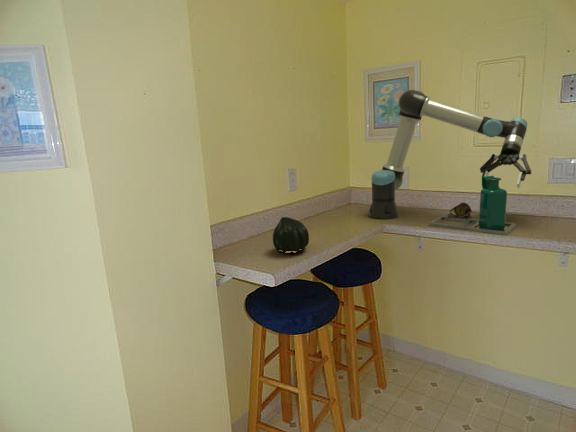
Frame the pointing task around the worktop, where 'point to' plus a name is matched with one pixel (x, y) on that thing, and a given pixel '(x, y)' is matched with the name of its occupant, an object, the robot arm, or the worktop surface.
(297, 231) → the squash
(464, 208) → the brown mottled shell
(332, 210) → the worktop surface
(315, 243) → the worktop surface
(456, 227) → the rail
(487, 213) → the green bottle
